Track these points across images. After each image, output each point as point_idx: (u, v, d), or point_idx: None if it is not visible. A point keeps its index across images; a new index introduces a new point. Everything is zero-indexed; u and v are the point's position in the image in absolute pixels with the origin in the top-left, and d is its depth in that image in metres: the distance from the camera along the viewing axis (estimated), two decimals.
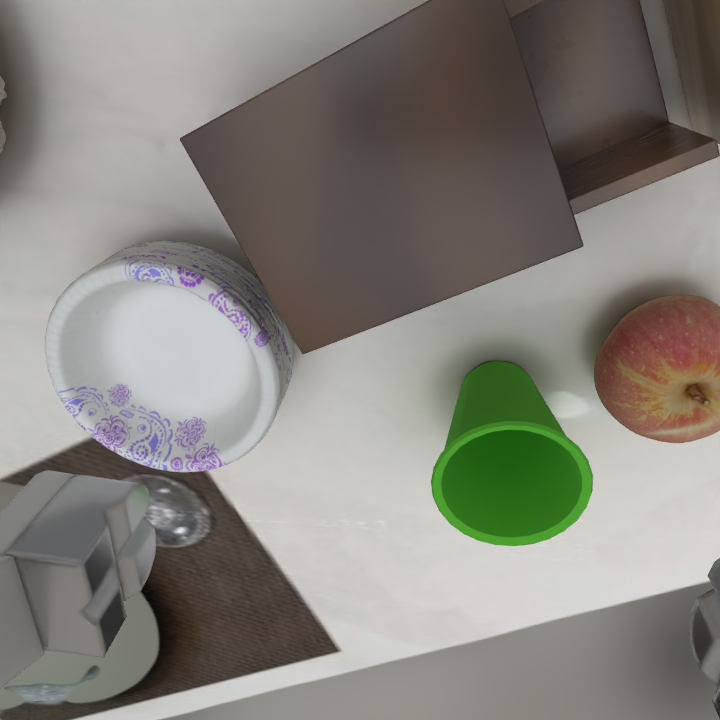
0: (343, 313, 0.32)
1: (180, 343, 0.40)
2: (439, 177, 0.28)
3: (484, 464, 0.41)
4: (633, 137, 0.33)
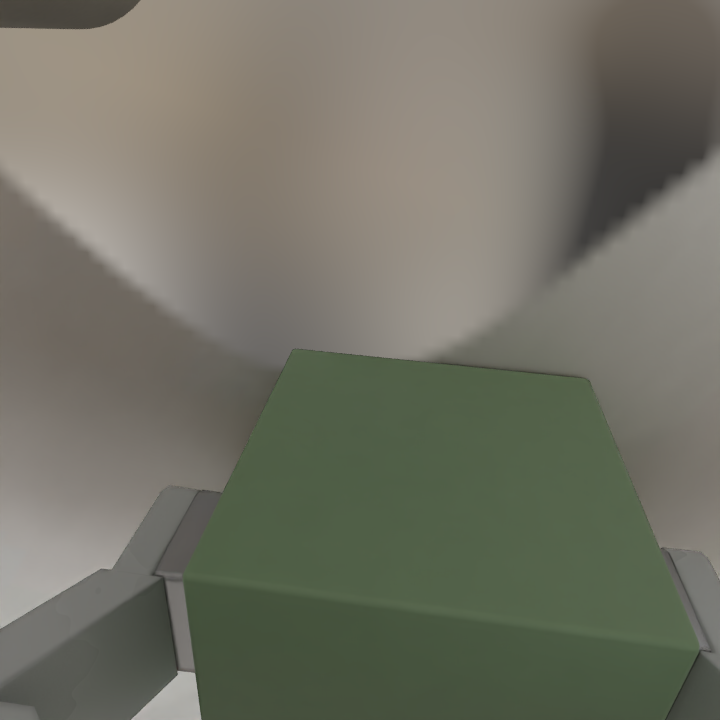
0: None
1: None
2: None
3: None
4: None
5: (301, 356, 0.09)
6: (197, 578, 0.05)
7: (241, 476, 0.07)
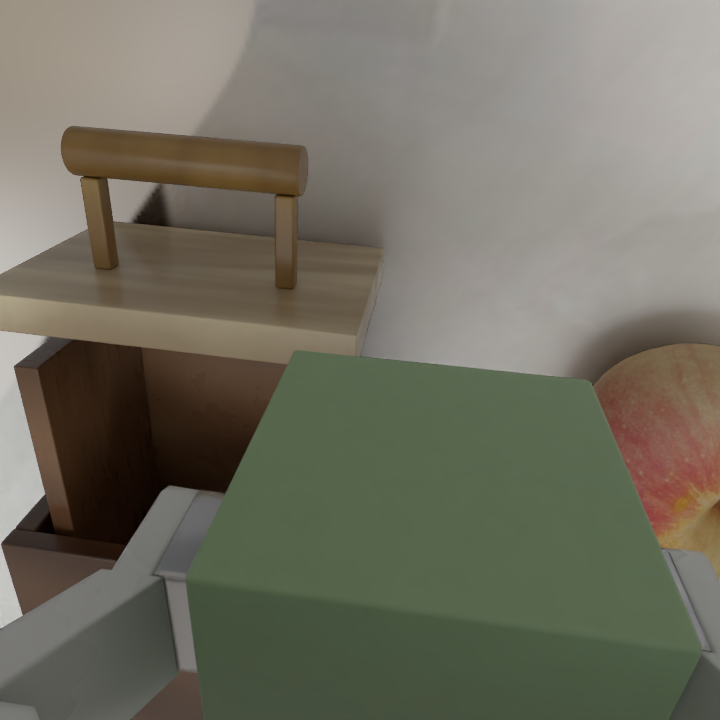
0: None
1: None
2: None
3: None
4: None
5: (303, 357, 0.09)
6: (199, 580, 0.05)
7: (243, 478, 0.07)
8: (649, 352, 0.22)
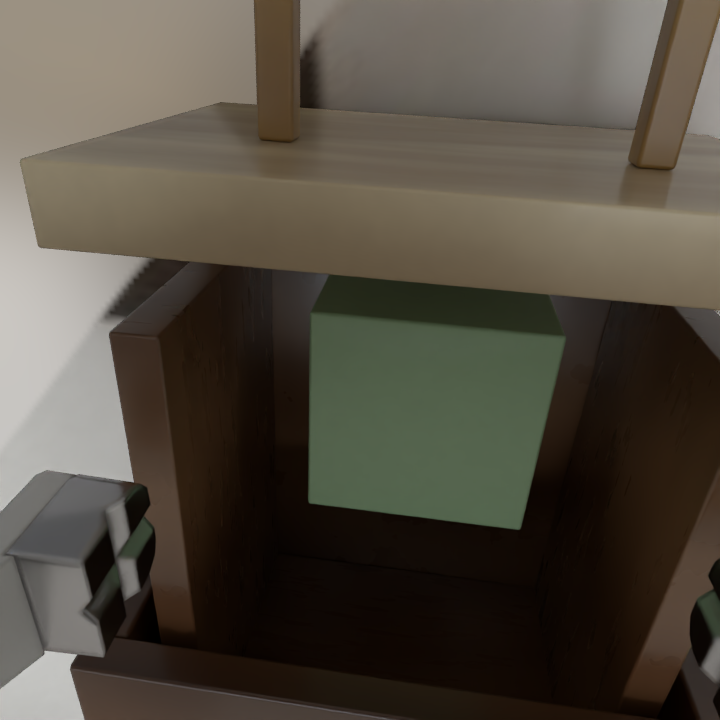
0: None
1: None
2: None
3: None
4: (606, 330, 0.15)
5: None
6: (317, 313, 0.11)
7: (330, 283, 0.12)
8: None
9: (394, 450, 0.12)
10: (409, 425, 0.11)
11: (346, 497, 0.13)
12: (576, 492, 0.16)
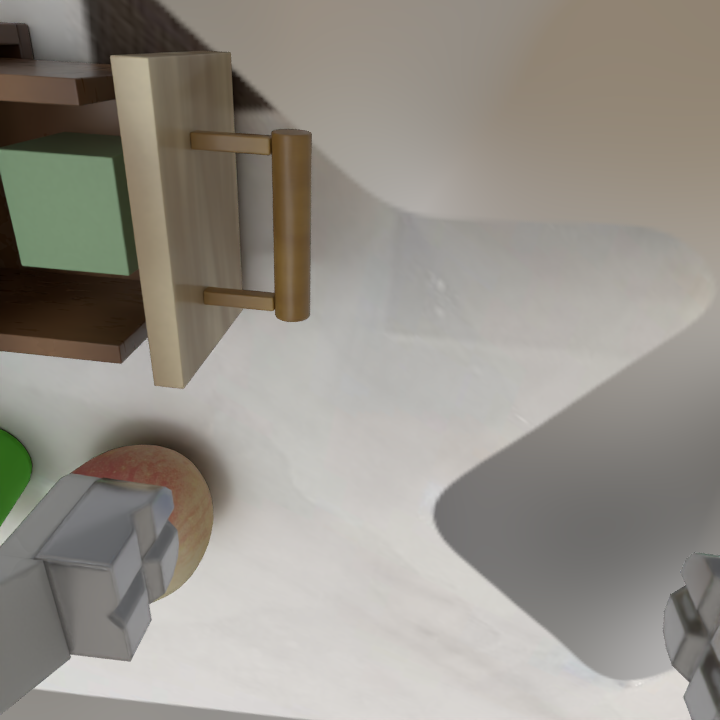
0: None
1: None
2: None
3: None
4: None
5: None
6: (112, 161, 0.21)
7: None
8: (200, 482, 0.34)
9: (47, 200, 0.22)
10: (64, 208, 0.22)
11: (7, 172, 0.22)
12: (45, 282, 0.28)
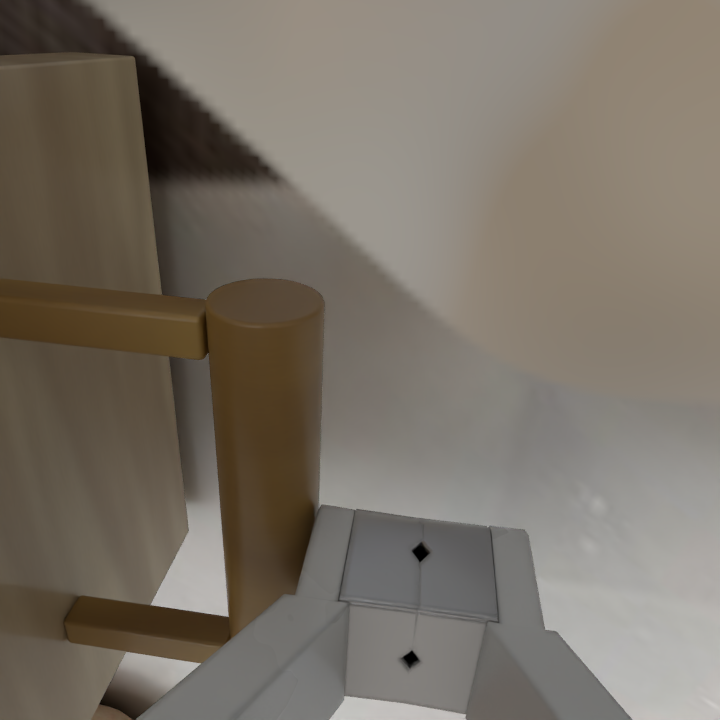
0: None
1: None
2: None
3: None
4: None
5: None
6: None
7: None
8: None
9: None
10: None
11: None
12: None
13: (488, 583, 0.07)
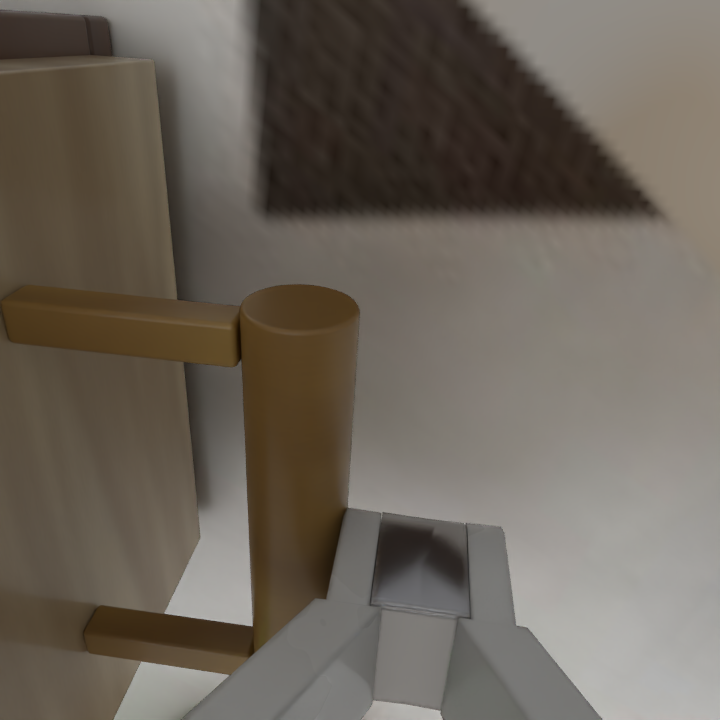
0: None
1: None
2: None
3: None
4: None
5: None
6: None
7: None
8: None
9: None
10: None
11: None
12: None
13: (461, 579, 0.07)
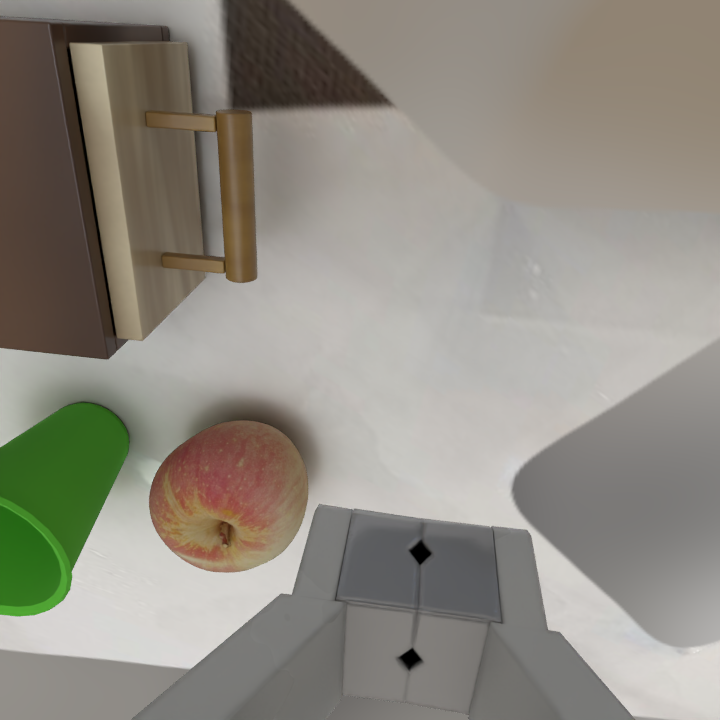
0: None
1: None
2: None
3: None
4: None
5: None
6: None
7: None
8: (298, 455, 0.36)
9: None
10: None
11: None
12: None
13: (491, 583, 0.07)
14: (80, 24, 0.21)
